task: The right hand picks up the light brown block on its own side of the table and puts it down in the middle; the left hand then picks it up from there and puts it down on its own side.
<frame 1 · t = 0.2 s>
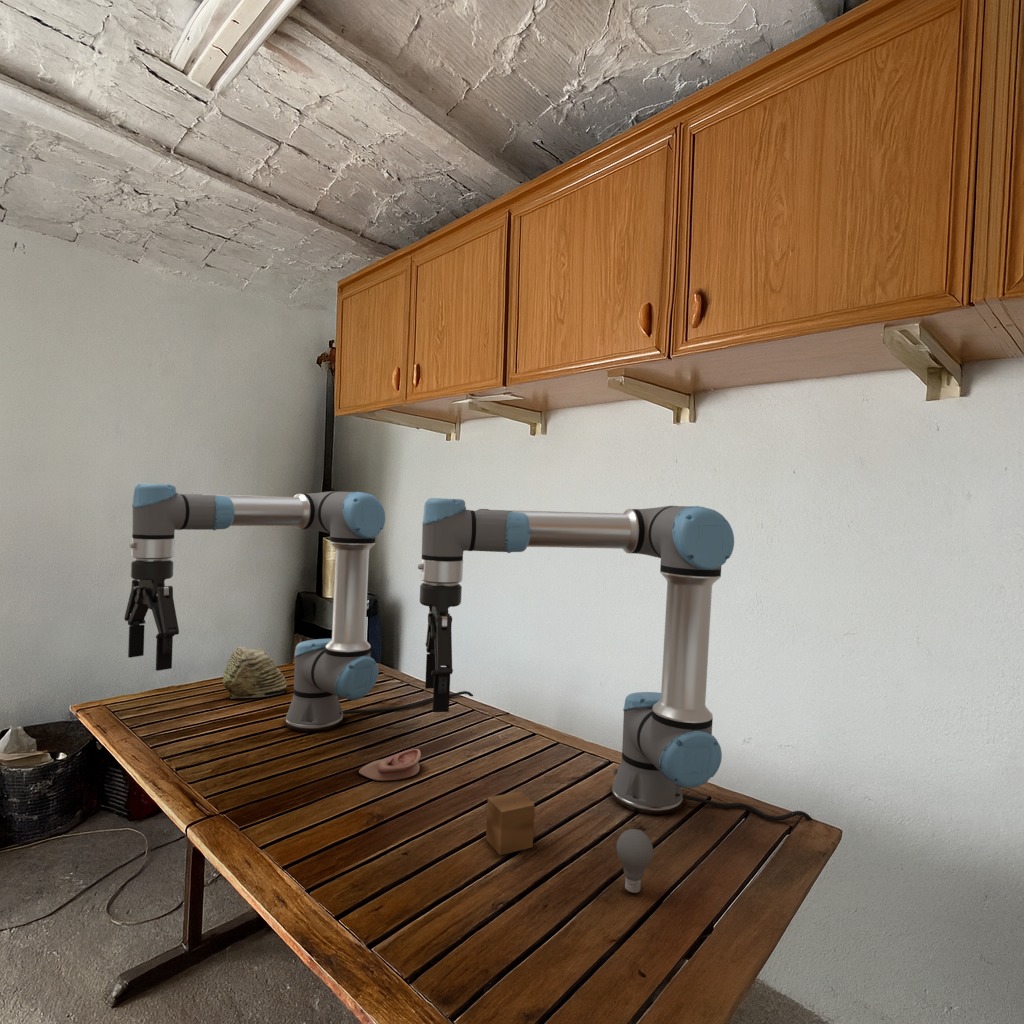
left hand: (149, 662, 130), 28 cm above the table, tool pointing down, fingers open, 13 cm apart
right hand: (436, 699, 115), 28 cm above the table, tool pointing down, fingers open, 13 cm apart
light bulb: (632, 891, 106), on the table
light brown block: (509, 843, 119), on the table
fossil: (254, 694, 198), on the table
anatomical model: (390, 771, 147), on the table
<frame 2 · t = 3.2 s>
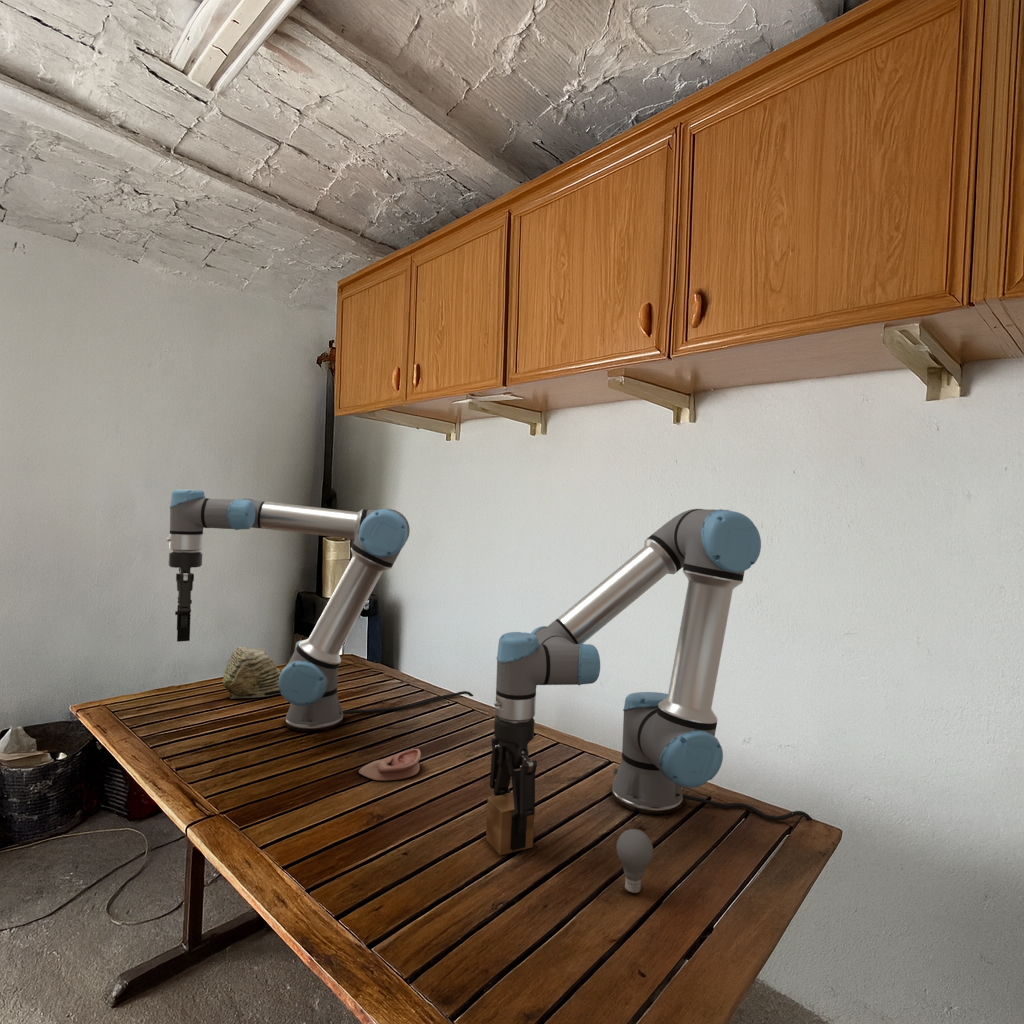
left hand: (182, 635, 159), 27 cm above the table, tool pointing down, fingers open, 13 cm apart
right hand: (509, 838, 119), 1 cm above the table, tool pointing down, fingers closed on light brown block, 6 cm apart
light brown block: (509, 843, 119), on the table, touching right hand
everything else where it was.
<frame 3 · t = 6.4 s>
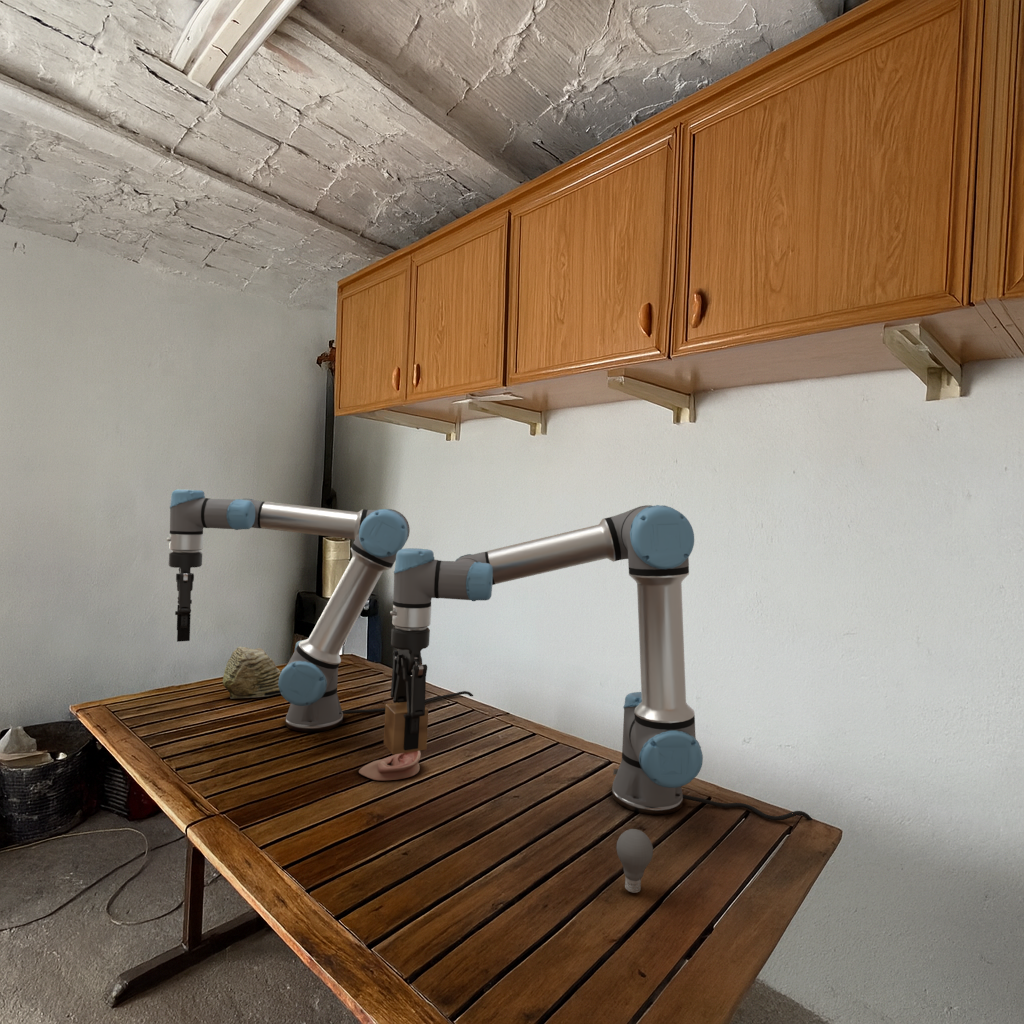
left hand: (182, 635, 159), 27 cm above the table, tool pointing down, fingers open, 13 cm apart
right hand: (405, 742, 126), 15 cm above the table, tool pointing down, fingers closed on light brown block, 6 cm apart
light brown block: (404, 746, 126), point 15 cm above the table, touching right hand
everything else where it was.
when the right hand's fingers open (2 cm above the table, at t = 9.6 s): light brown block drops 1 cm, on the table.
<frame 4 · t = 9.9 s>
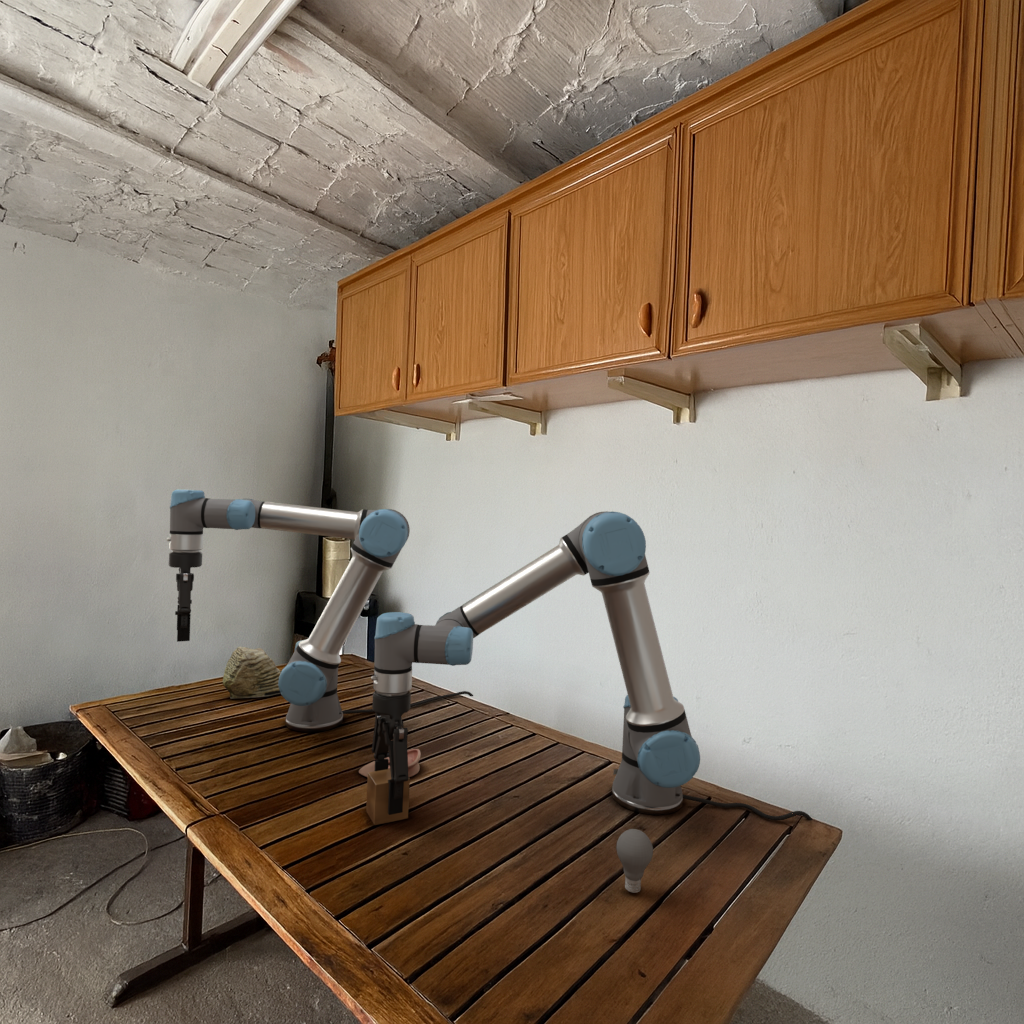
left hand: (182, 635, 159), 27 cm above the table, tool pointing down, fingers open, 13 cm apart
right hand: (387, 801, 127), 3 cm above the table, tool pointing down, fingers open, 9 cm apart
light brown block: (387, 815, 127), on the table
everything else where it was.
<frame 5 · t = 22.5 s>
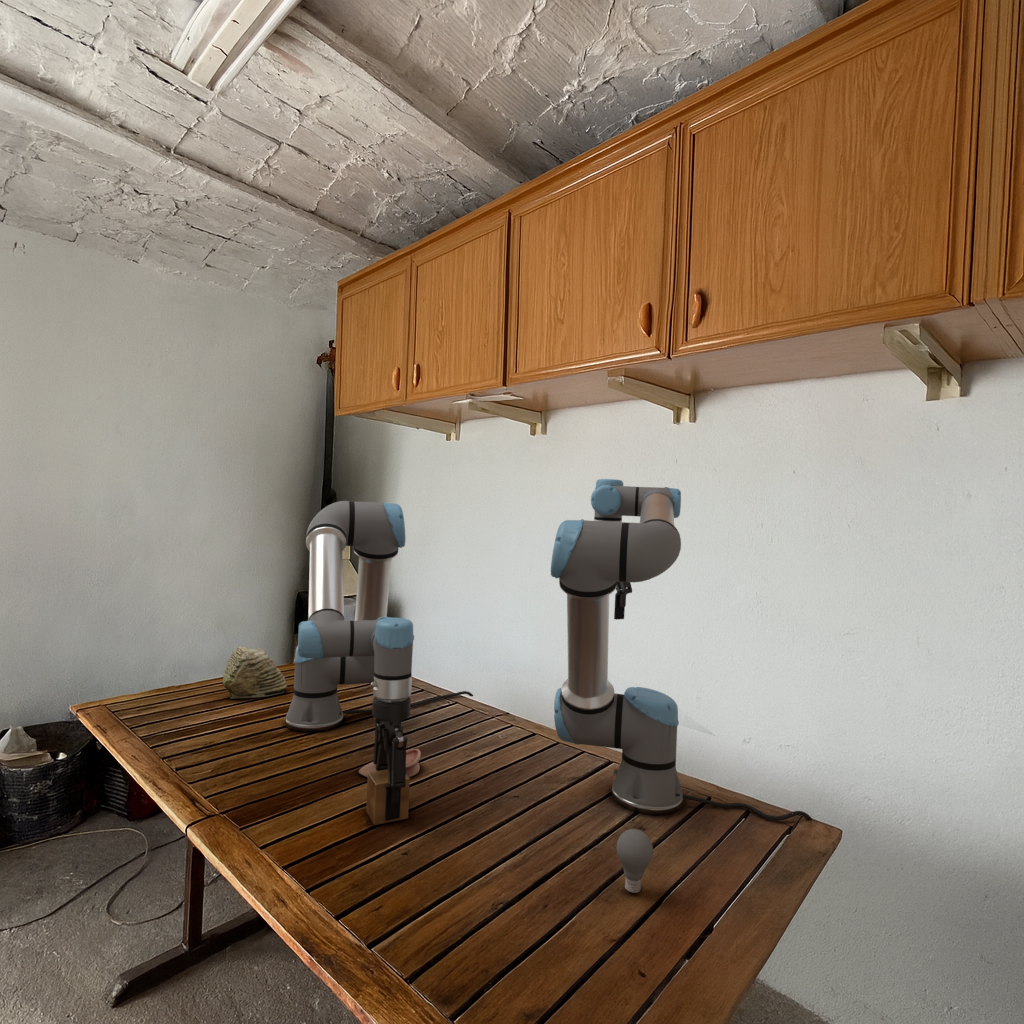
left hand: (387, 810, 127), 1 cm above the table, tool pointing down, fingers closed on light brown block, 6 cm apart
right hand: (603, 614, 172), 34 cm above the table, tool pointing down, fingers open, 13 cm apart
light brown block: (387, 815, 127), on the table, touching left hand
everything else where it was.
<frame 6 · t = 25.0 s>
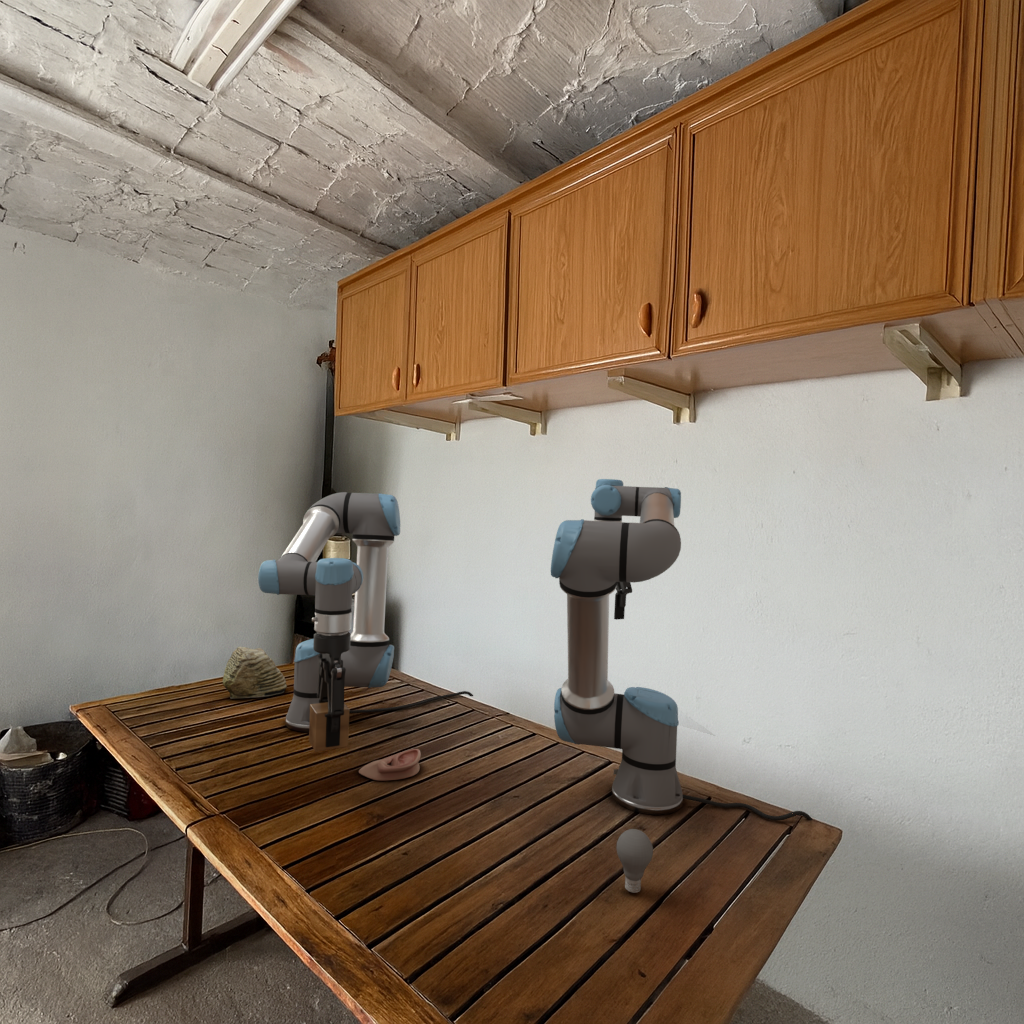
left hand: (328, 739, 134), 12 cm above the table, tool pointing down, fingers closed on light brown block, 6 cm apart
right hand: (603, 614, 172), 34 cm above the table, tool pointing down, fingers open, 13 cm apart
light brown block: (328, 743, 134), point 11 cm above the table, touching left hand
everything else where it was.
when the left hand's fingers open (2 cm above the table, at t = 27.8 s): light brown block drops 1 cm, on the table.
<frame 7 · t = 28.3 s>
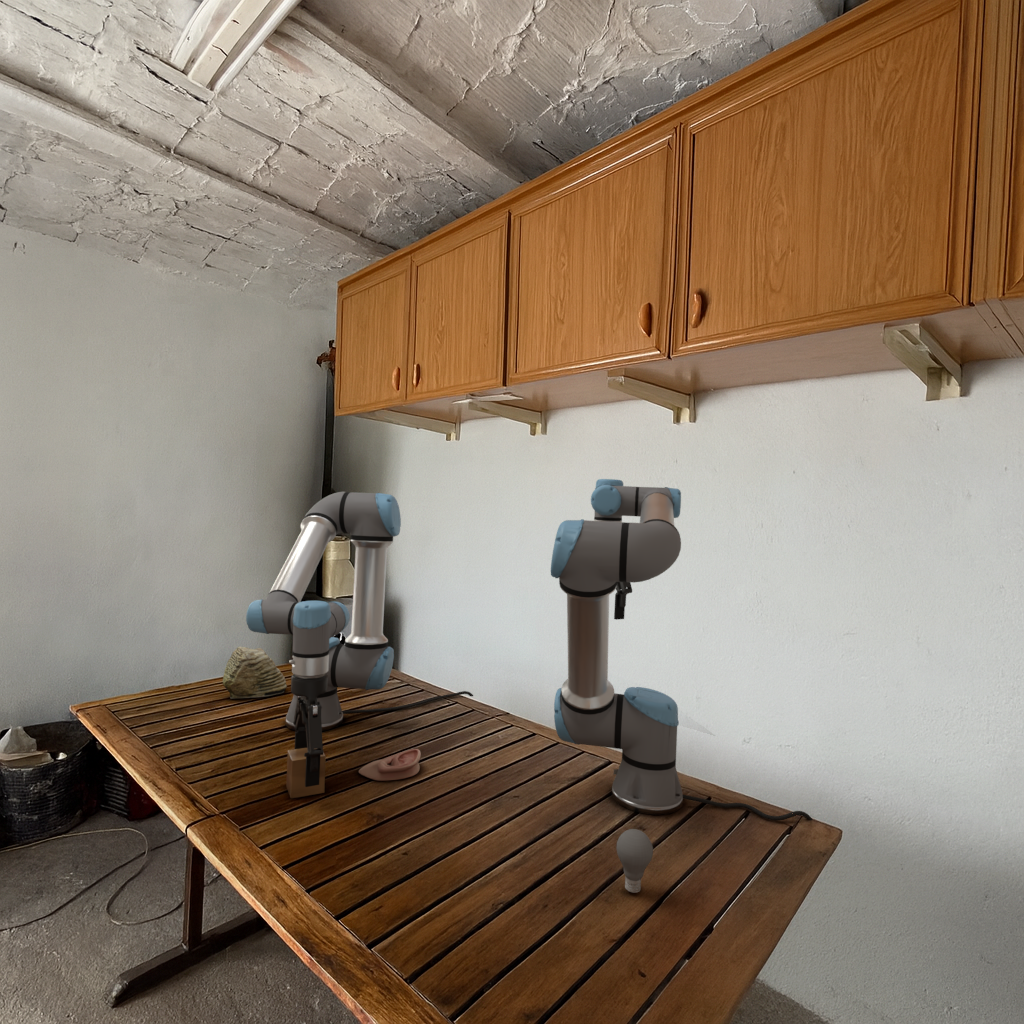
left hand: (306, 772, 136), 4 cm above the table, tool pointing down, fingers open, 13 cm apart
right hand: (603, 614, 172), 34 cm above the table, tool pointing down, fingers open, 13 cm apart
light brown block: (305, 789, 137), on the table
everything else where it was.
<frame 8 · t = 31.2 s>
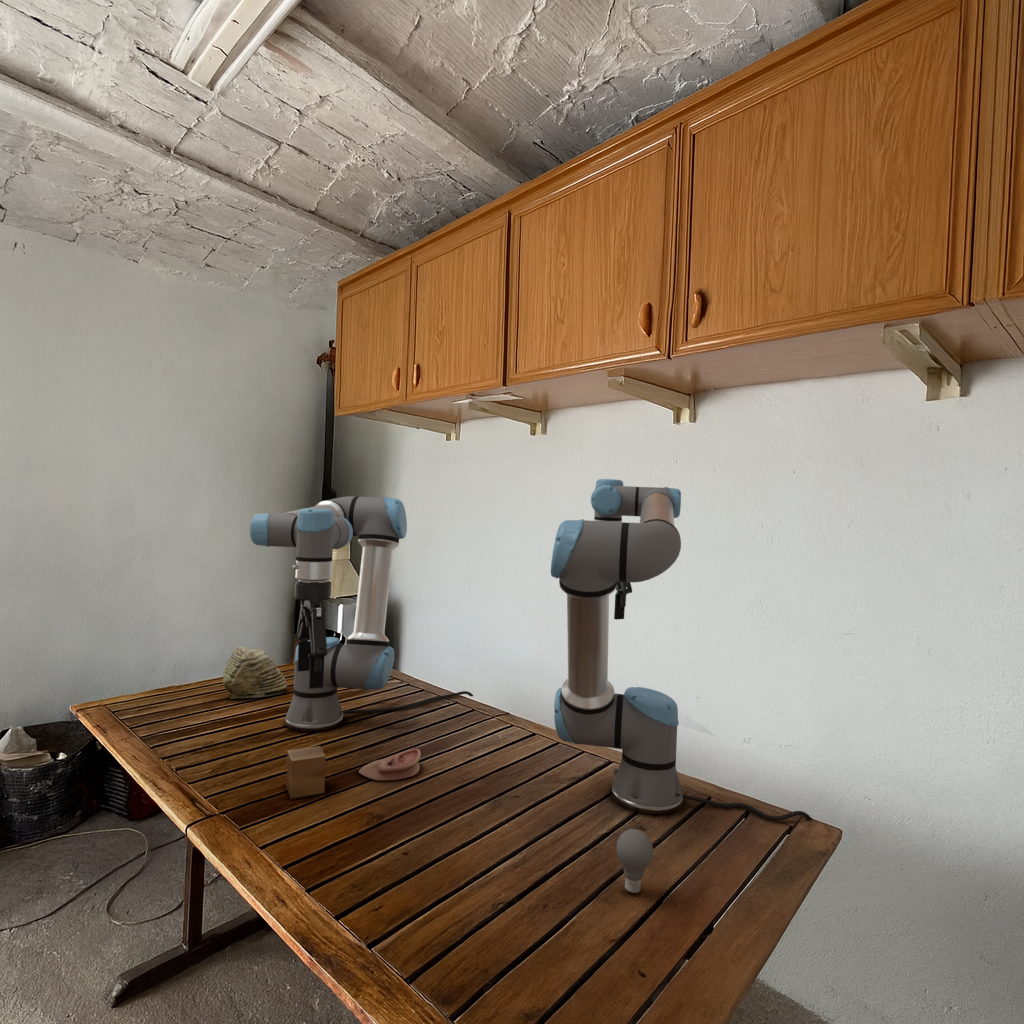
left hand: (309, 678, 136), 24 cm above the table, tool pointing down, fingers open, 13 cm apart
right hand: (603, 614, 172), 34 cm above the table, tool pointing down, fingers open, 13 cm apart
nothing on the table moved.
at the end: light brown block inside the target area (0.1 cm from its centre), on the table; light brown block tilted 0°; the two hands never held the light brown block at the same time; the left hand is holding nothing; the right hand is holding nothing; light brown block at rest at the end (0.0 cm/s) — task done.
